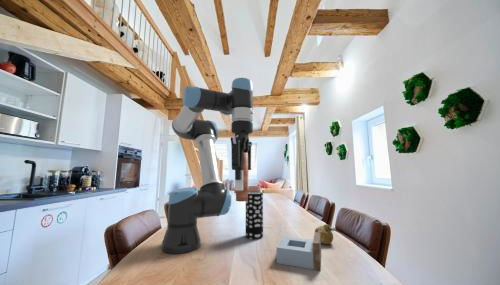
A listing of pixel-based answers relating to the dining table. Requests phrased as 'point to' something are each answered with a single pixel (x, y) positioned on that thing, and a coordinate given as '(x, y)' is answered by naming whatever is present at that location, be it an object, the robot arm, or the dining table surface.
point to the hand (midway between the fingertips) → (241, 189)
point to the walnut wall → (317, 251)
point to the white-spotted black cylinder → (254, 216)
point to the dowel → (244, 181)
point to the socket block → (295, 252)
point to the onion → (325, 233)
